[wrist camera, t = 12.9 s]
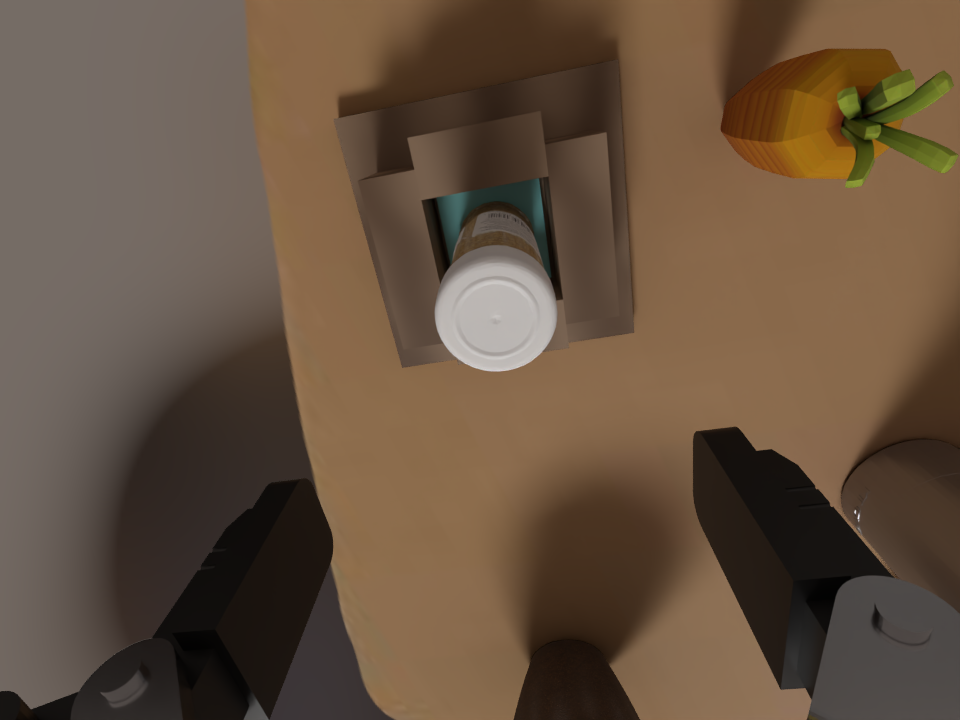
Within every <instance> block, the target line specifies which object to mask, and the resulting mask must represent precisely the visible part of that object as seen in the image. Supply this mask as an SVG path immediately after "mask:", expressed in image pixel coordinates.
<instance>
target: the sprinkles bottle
mask: <svg viewBox="0 0 960 720" xmlns="http://www.w3.org/2000/svg"><path fill="white" fill-rule="evenodd" d="M557 314H558V313H557V303H556V297H555V293H554V290H553V286H552V283H551V281H550V278H549V276H548V275H547V273H546V271H545V270H544V267H543V263H542V259H541V256H540V253H539V249H538V246H537V243H536V240H535V237H534V231H533V227H532V224H531V222H530V221H529V219H528V217H527V216H526V215H525V214H524V213H523V212H522V211H521V210H520V209H519V208H517V207H515V206H514V205H512V204H509V203H505V202H499V201H494V202H489V203H484V204H482V205H480V206H478V207H476V208H475V209H473V210H472V211H471V212H470V213H469V214H468V215H467V217H466V218H465V220H464V221H463V223H462V227H461V229H460V232H459V237H458V240H457V243H456V246H455V250H454V253H453V260H452V264H451V266H450V268H449V269H448V270H447V272H446V273H445V275H444V277H443V279H442V281H441V284H440V287H439V290H438V294H437V299H436V303H435V322H436V327H437V331H438V333H439V336H440V338H441V340H442V342H443V343H444V345H445V346H446V348H447V349H448V350H449V351H450V352H451V353H452V354H453V355H454V356H455V357H456V358H458V359H459V360H460V361H462V362H464V363H465V364H467V365H469V366H471V367H474V368H477V369H481V370H485V371H507V370H512V369H515V368H518V367H520V366H523V365H525V364H527V363H529V362H530V361H532V360H533V359H534V358H536V357H537V356H538V355H539V354H540V353H541V352H542V351H543V350H544V349H545V348H546V346H547V345H548V343H549V342H550V340H551V338H552V336H553V334H554V331H555V328H556V323H557Z"/></svg>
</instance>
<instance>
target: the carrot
mask: <svg viewBox="0 0 960 720" xmlns="http://www.w3.org/2000/svg"><path fill="white" fill-rule="evenodd" d="M953 86H954V85H953V82H952V79H951V76H950V75H949V74H947V73H946V72H945V71H942V72H940V73H938V74H937V75H935V76H934V77H932V78H931V79H930V80H928V81H927V82H925V83H924V84H923V85H922V86H921V87H919V88H918V89H917V90H915V79H914V77H913V75H912V73H911V71H910V69H908V70H905V71H901V69H900V67H899V66H898V64H897V62H896V60H895V59H894V57H893V55H892V53H891V51H889V50H886V49H825V50H821V51H817V52H813V53H810V54H806V55H802V56H799V57H796V58H793V59H789V60H786V61H783V62H780V63H778V64H776V65H774V66H773V67H771V68H769V69H767V70H766V71H764V72H762V73H761V74H760V75H758V76H757V77H755V78H754V79H752V80H751V81H750V82H749V83H748V84H746V85H745V86H744V87H743V88H742V89H741V90H740V91H739V92H738V93H737V94H735V95H734V96H733V97H732V98H731V99H730V100H729V101H728V102H727V103H726V105H725V108H724V113H723V118H722V123H721V132H722V133H723V134H724V136H725V137H726V139H727V140H728V141H729V143H730V144H731V146H732V147H733V148H734V150H735V151H736V152H737V153H738V154H739V155H740V156H741V157H742V158H743V159H745V160H746V161H747V162H749V163H750V164H752V165H753V166H755V167H757V168H760V169H763V170H766V171H769V172H772V173H776V174H779V175H783V176H787V177H791V178H819V179H847V178H848V180H847V182H846V185H845V186H846V188H854V187H858V186H862V185H863V183H864V181H865V180H866V178H867V176H868V175H869V173H870V170H871V168H872V166H873V164H874V159H875V158H877V157H878V156H879V155H881V154H882V153H883V152H884V151H886V150H887V149H888V148H890V147H891V148H893V149H895V150H897V151H899V152H901V153H903V154H905V155H907V156H909V157H911V158H913V159H915V160H916V161H918V162H920V163H922V164H924V165H925V166H927V167H929V168H931V169H933V170H936V171H938V172H940V173H946V172H947V171H948V170H949V169H950V168H951V167H952V166H953V165H954V163H955V161H956V159H957V157H958V154H956V153H955V152H953V151H952V150H950V149H949V148H947V147H944V146H942V145H940V144H938V143H936V142H934V141H931V140H928V139H925V138H922V137H919V136H916V135H914V134H911V133H908V132H905V131H902V130H900V128H901V125H902V122H903V119H904V118H905V117H908V116H911V115H913V114H915V113H917V112H919V111H921V110H922V109H924V108H926V107H927V106H929V105H931V104H932V103H934V102H935V101H937V100H938V99H939V98H940V97H942V96H943V95H944V94H945V93H947V92H948V91H949V90H950V89H951V88H952V87H953Z"/></svg>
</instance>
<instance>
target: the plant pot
mask: <svg viewBox="0 0 960 720" xmlns="http://www.w3.org/2000/svg"><path fill="white" fill-rule="evenodd" d="M514 720H640V719H639V717H638V715H637V713H636V711H635V709H634V707H633V705H632V704H631V702H630V700H629V698H628V696H627V694H626V693H625V691H624V689H623V687H622V686H621V684H620V682H619V680H618V679H617V677H616V675H615V674H614V672H613V671H612V669H611V667H610V666H609V664H608V662H607V661H606V659H605V658H604V656H603V655H602V653H601V652H600V651H599V650H598V649H597V648H595V647H594V646H592V645H590V644H588V643H585V642H581V641H576V640H562V641H556V642H552V643H550V644H547V645H545V646H543V647H542V648H540V649H539V650H538V651H537V652H536V653H535V654H534V655H533V657H532V659H531V662H530V665H529V668H528V671H527V674H526V677H525V680H524V684H523V687H522V690H521V694H520V697H519V701H518V705H517V708H516V712H515V716H514Z"/></svg>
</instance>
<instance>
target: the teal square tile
mask: <svg viewBox="0 0 960 720" xmlns="http://www.w3.org/2000/svg"><path fill="white" fill-rule="evenodd" d="M436 198H437V203H438V208H439V212H440V217H441V222H442V227H443V231H444V236H445V241H446V245H447V250H448V255H449V260H450V264H452V260H453V253H454V250H455V246H456V243H457V240H458V237H459V232H460V229H461V227H462V223H463V221H464V220H465V218H466V217H467V215H468V214H469V213H470V212H471V211H472V210H473V209H475V208H476V207H478V206H480V205H482V204H484V203H489V202H494V201H499V202H505V203H509V204H512V205H514V206H515V207H517V208H519V209H520V210H521V211H522V212H523V213H524V214H525V215H526V216H527V217H528V219H529V221H530V222H531V224H532V227H533V231H534V237H535V240H536V243H537V246H538V249H539V253H540V256H541V259H542V263H543V267H544V270H545V271H546V273H547V275H548V276H549V278H551V270H550V262H549V254H548V246H547V238H546V230H545V222H544V215H543V207H542V199H541V191H540V183H539V178H537V179H532V180H526V181H521V182H516V183H510V184H505V185H500V186H494V187H489V188H484V189H478V190H473V191H468V192H462V193H457V194H452V195H447V196H441V197H436Z"/></svg>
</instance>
